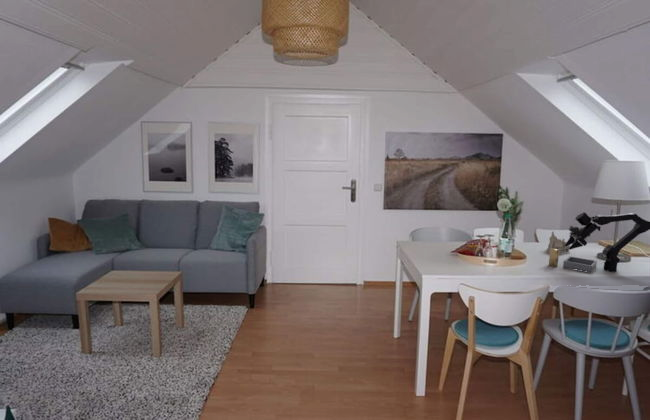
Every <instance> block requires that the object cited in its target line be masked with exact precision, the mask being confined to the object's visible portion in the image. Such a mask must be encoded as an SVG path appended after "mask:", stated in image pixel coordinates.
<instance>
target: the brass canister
mask: <svg viewBox="0 0 650 420" xmlns="http://www.w3.org/2000/svg"><path fill="white" fill-rule="evenodd" d="M559 256H560V255H559V249H553V248H552V249H550V254H549V256H548V257H549V259H548V267H550V266H551V267H552V268H558V265H559Z"/></svg>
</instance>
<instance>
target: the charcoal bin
mask: <svg viewBox="0 0 650 420" xmlns="http://www.w3.org/2000/svg"><path fill="white" fill-rule="evenodd" d="M597 263H598V261H597V260H594V259H588V258H582V257H576V256H572V255H571V256H568V257H567V258H566V259H564V261H563V265H562V266H563V267H564V268H563V267H562V268H563V269H566V268H571V269H570V270H572V269H577V270H582V271H581V272H583V271H587V272H586V273H588V272H592V271H593V270H594V269H595V270H596V269H597ZM577 270H576V271H577ZM595 270H594V271H595ZM594 271H593V272H594ZM593 272H592V273H593Z"/></svg>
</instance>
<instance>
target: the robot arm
mask: <svg viewBox="0 0 650 420" xmlns="http://www.w3.org/2000/svg"><path fill="white" fill-rule="evenodd" d="M575 220H576V221H577V222H578V223H579V224H580V225H581V226H583V227H580V228H579V226H578V227H577V226H573V225H570V227H569V228H568V231H569V238H568V240H567V241H566V242H567V243H566V244H565V246H568V245H570V247H569V251H570V250H574V249H576V248H581V247H585V246H587V245H588V241H586V239H587V238H588V237H589V238H590V237H591V235H592V234H593V233H594V232H595V231H596V230H597V231H598V232H601V228H602V227H601V226H604V225H608V224H610V223H615V222H617V223H618V222H625V221H632V222H633V223H635V224H634V226H633V228H632V229H631V230H630V231H628V232H627V233H626V234H625V235H624V236H622V237H621V238H620V239H619V240H618V241H616V242H615V243H614V244H612V245H611V244H607V246H605V247H603V249H602V255H603V256H604V259H605V261H604V263H603V271H607V270H609V271H608V272H612V271H614V273H616V272H617V271H618V263H620V261H621V260H620V258H619V257H618V255H619V253H620V251H621V250H622V249H623V248H624V247H626V246H627V245H628V244H629V243H631V242H632V241H634V239H635V238H636V237H638V236H640V234H643V233H646V232H648V231H649V230H650V221H649V220H647V219H644V218H642V217H640V215H638V214H637V213H635V212H629V213H622V214H621V213H619V214H610V215H607V214H596V215H595V216H589V215H588V214H587V213H586V212H585V211H584V212H582V213H579V214H578V215H576V216H575Z"/></svg>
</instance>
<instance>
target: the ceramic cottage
mask: <svg viewBox="0 0 650 420" xmlns="http://www.w3.org/2000/svg"><path fill="white" fill-rule="evenodd" d="M548 240H549V243H548V245H547V246H548V247H547V248H546V252H547V253H548V254H549V255H550V249H552V248H553V249H559V256H565V255H569V254H570V249H569V247H570V246H571V244H570V245H568V246H565V244H566V243H567V241H565V238H562V239H559V238H558V237H557V236H556V235H555V232H554V231H551V235H550V237H549V239H548Z"/></svg>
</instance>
